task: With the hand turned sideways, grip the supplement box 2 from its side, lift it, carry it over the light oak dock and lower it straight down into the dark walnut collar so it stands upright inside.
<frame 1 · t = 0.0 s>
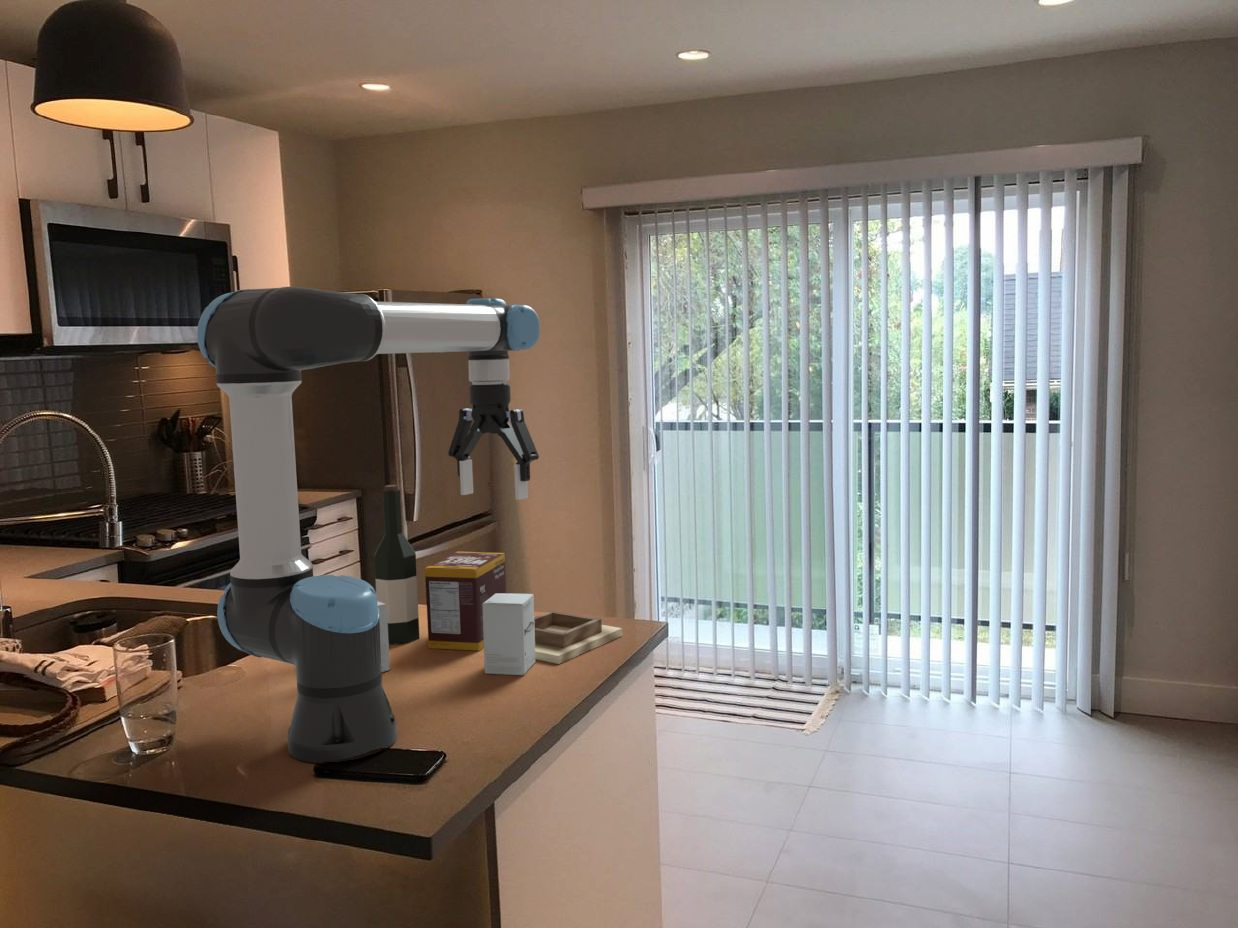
hand: (494, 496, 188), 28 cm above the counter, tool pointing down, fingers open, 13 cm apart
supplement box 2: (510, 669, 175), on the counter
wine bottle: (399, 639, 195), on the counter
dock: (557, 642, 189), on the counter
skincare box: (371, 670, 176), on the counter
supplement box: (469, 639, 194), on the counter
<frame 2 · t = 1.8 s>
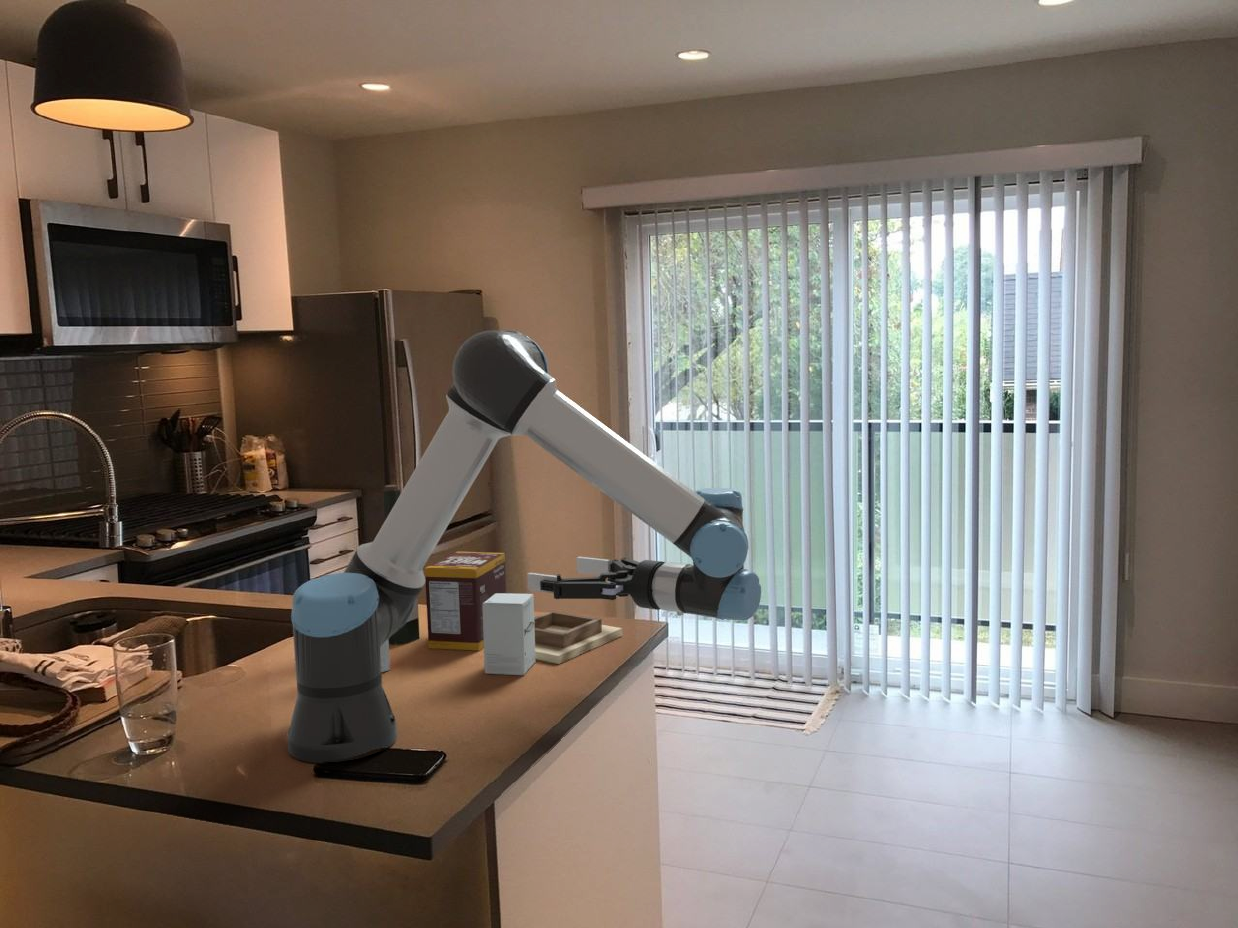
hand: (554, 572, 167), 18 cm above the counter, tool horizontal, fingers open, 13 cm apart
nothing on the counter moved.
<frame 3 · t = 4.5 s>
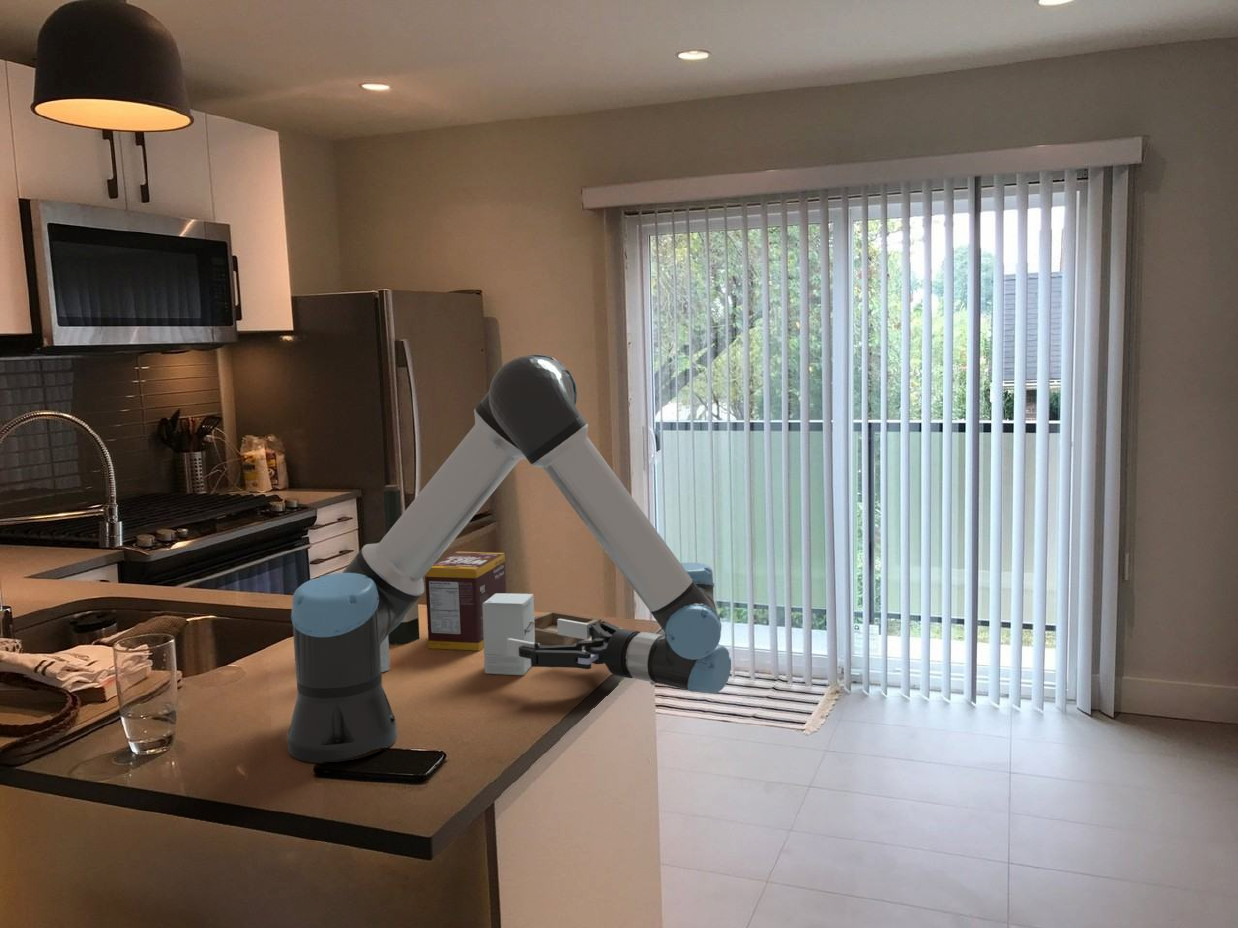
hand: (534, 635, 172), 6 cm above the counter, tool horizontal, fingers open, 13 cm apart
nothing on the counter moved.
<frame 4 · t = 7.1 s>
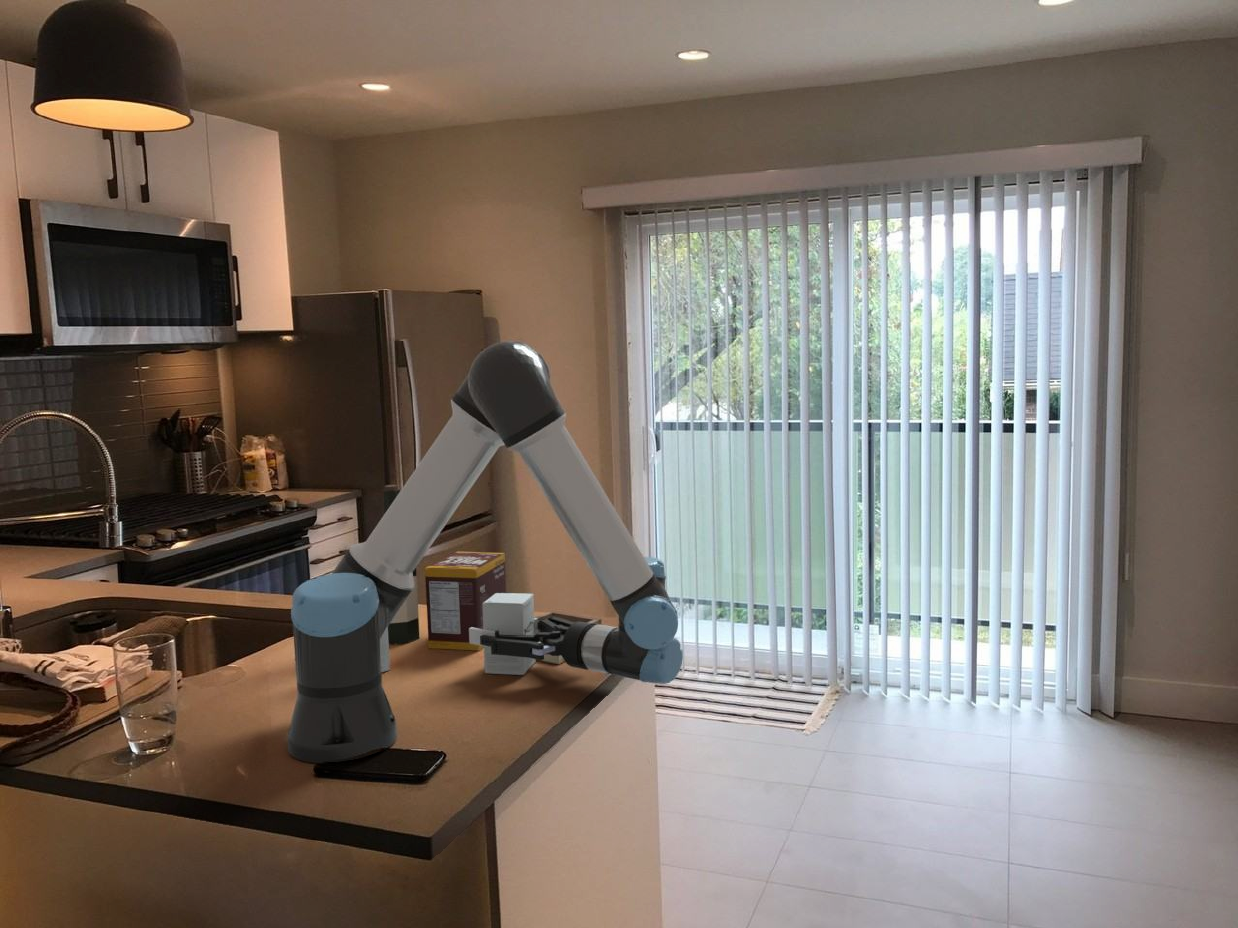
hand: (490, 628, 177), 7 cm above the counter, tool horizontal, fingers closed on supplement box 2, 9 cm apart
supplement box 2: (510, 669, 175), on the counter, touching gripper
everything else where it was.
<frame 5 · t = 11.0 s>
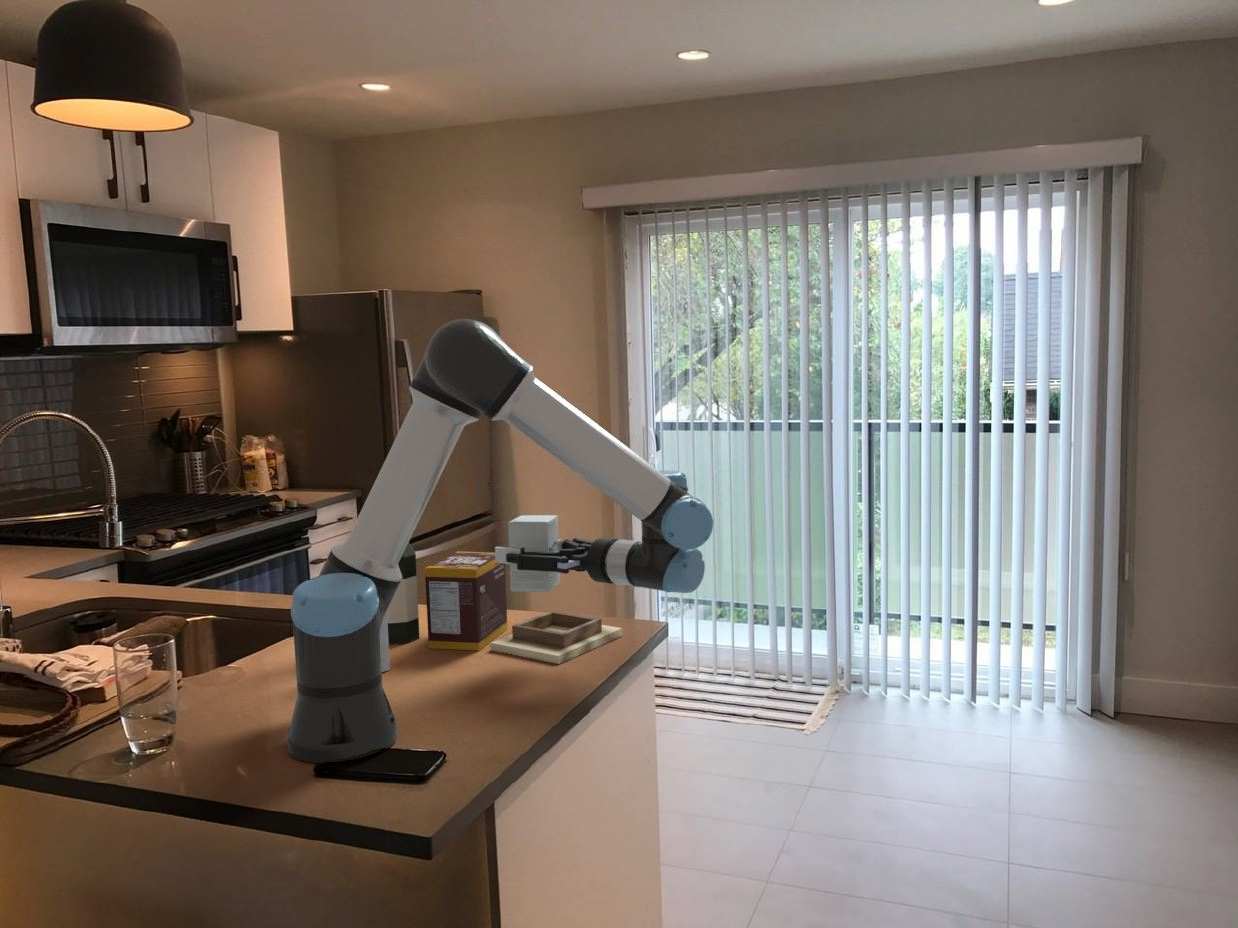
hand: (515, 549, 181), 19 cm above the counter, tool horizontal, fingers closed on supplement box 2, 9 cm apart
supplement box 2: (535, 588, 179), point 13 cm above the counter, touching gripper
everything else where it was.
when the fingers open (9 cm above the counter, at t = 15.0 s): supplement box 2 drops 1 cm, resting on dock.
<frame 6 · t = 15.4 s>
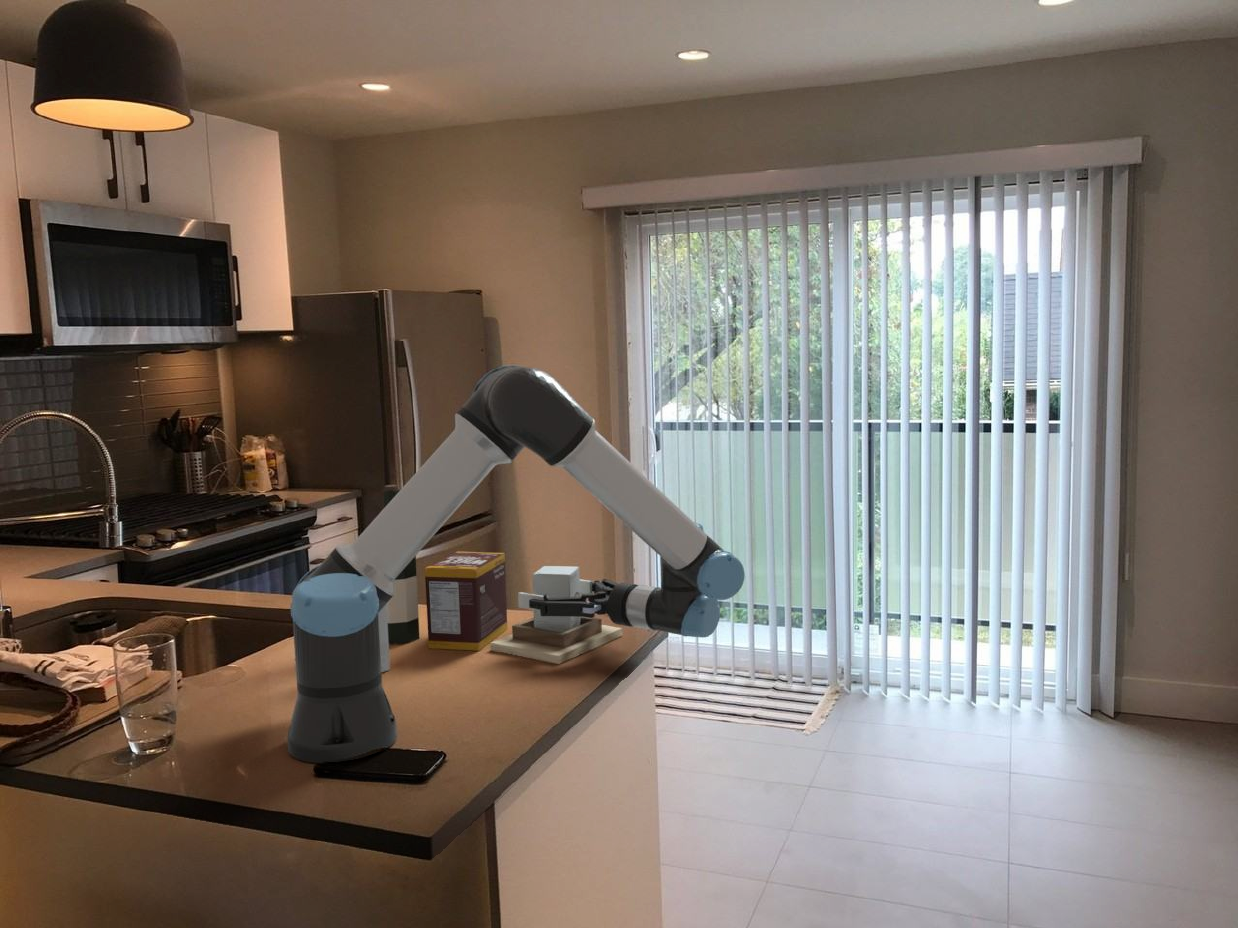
hand: (542, 591, 190), 9 cm above the counter, tool horizontal, fingers open, 13 cm apart
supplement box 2: (558, 636, 189), point 1 cm above the counter, touching dock
everything else where it was.
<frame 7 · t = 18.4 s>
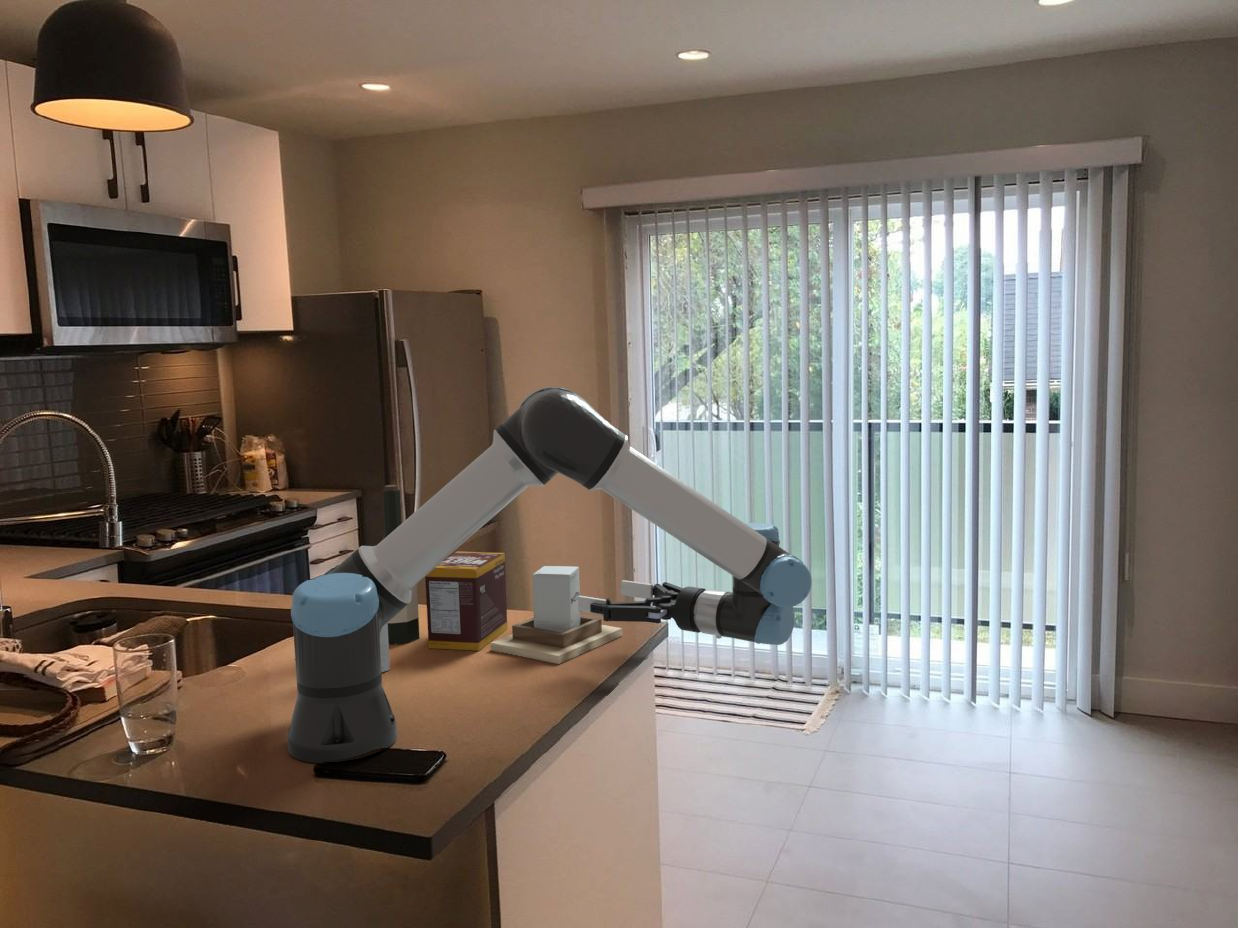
hand: (601, 595, 181), 11 cm above the counter, tool horizontal, fingers open, 13 cm apart
nothing on the counter moved.
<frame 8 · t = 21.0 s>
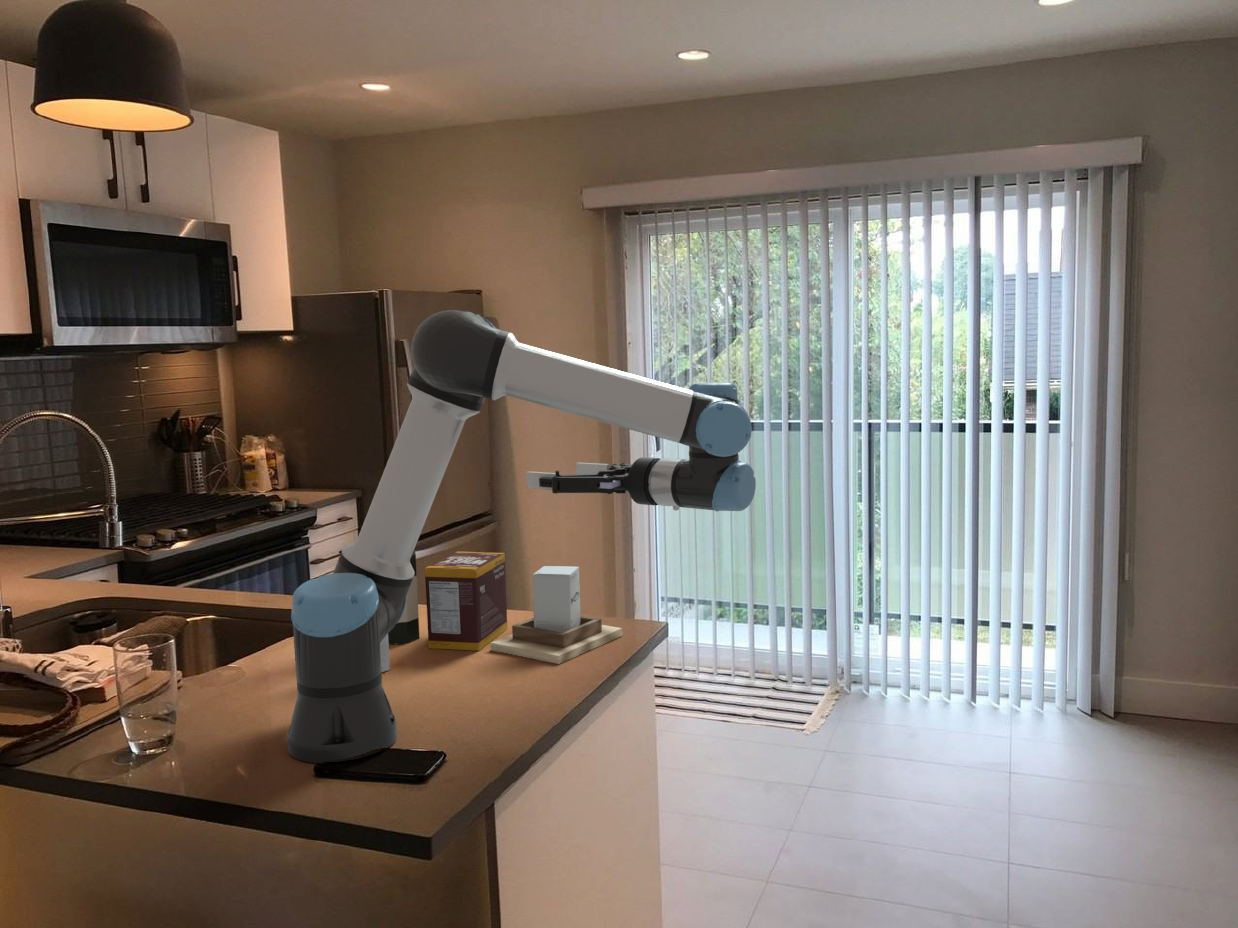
hand: (553, 474, 170), 34 cm above the counter, tool horizontal, fingers open, 13 cm apart
nothing on the counter moved.
at the end: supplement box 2 0.1 cm off-centre on the dock, point 1.3 cm above the dock's base; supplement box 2 tilted 0°; the gripper is holding nothing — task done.
